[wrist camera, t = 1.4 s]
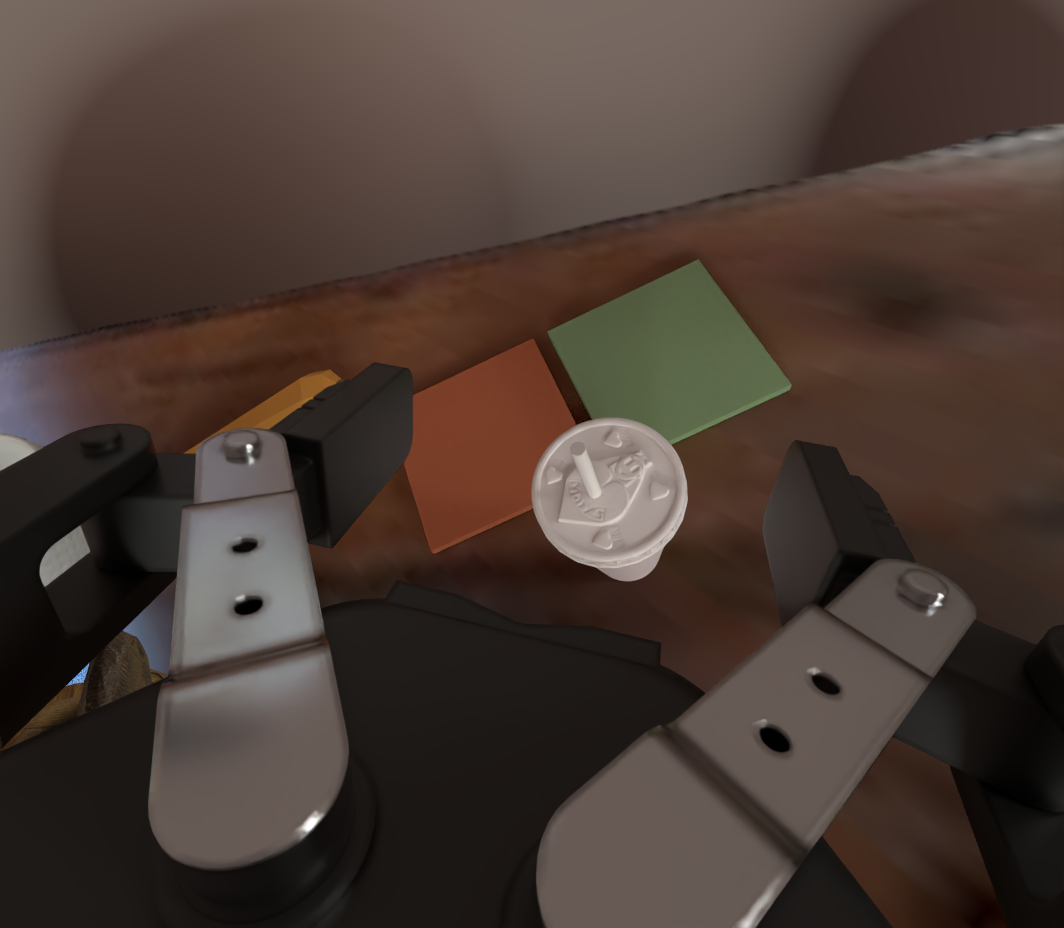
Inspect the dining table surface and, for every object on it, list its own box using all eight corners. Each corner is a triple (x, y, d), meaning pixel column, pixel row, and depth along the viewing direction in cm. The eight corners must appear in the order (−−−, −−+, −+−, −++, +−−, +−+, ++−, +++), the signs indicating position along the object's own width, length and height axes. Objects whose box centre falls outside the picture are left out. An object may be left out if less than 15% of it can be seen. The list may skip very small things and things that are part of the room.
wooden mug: (402, 809, 29) (65, 917, 13) (169, 860, 31) (-378, 1011, 15) (386, 633, 33) (112, 553, 17) (181, 687, 35) (-243, 659, 19)
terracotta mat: (535, 342, 39) (533, 337, 38) (601, 477, 34) (600, 473, 33) (390, 412, 40) (386, 407, 39) (434, 554, 34) (430, 551, 34)
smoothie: (548, 537, 33) (467, 429, 21) (637, 472, 33) (610, 327, 21) (615, 631, 30) (568, 570, 18) (712, 559, 31) (732, 449, 18)
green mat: (698, 265, 38) (698, 258, 38) (790, 390, 33) (792, 384, 33) (548, 336, 39) (546, 331, 38) (617, 470, 34) (616, 466, 33)
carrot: (369, 397, 41) (330, 348, 38) (364, 436, 38) (320, 385, 35) (150, 500, 45) (99, 462, 42) (127, 544, 41) (70, 506, 39)
